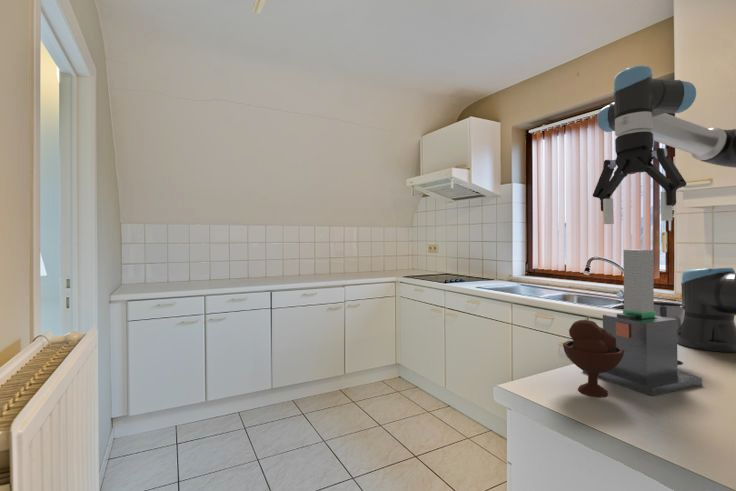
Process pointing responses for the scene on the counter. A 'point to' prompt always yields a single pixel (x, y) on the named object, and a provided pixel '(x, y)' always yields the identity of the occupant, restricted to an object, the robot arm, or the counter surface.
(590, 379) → the ice cream bowl
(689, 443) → the counter surface
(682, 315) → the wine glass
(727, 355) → the counter surface
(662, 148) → the robot arm
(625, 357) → the stand housing
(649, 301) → the post
